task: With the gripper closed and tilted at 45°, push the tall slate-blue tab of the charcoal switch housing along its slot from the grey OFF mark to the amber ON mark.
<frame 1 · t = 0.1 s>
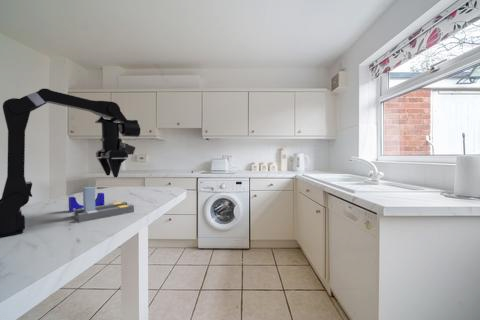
hand: (111, 176, 85), 15 cm above the counter, tool pointing down, fingers open, 9 cm apart
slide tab: (89, 200, 81), point 6 cm above the counter, slide at 0.0 cm
switch housing: (105, 214, 85), on the counter
cable clip: (86, 209, 93), on the counter
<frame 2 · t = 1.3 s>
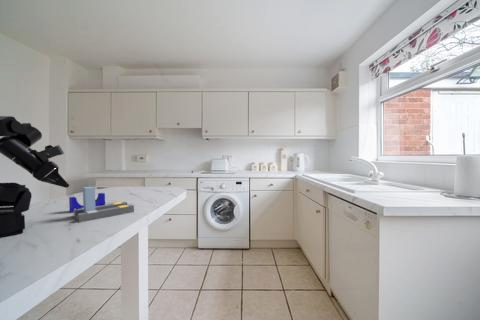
hand: (66, 185, 76), 13 cm above the counter, tool tilted 45°, fingers open, 8 cm apart
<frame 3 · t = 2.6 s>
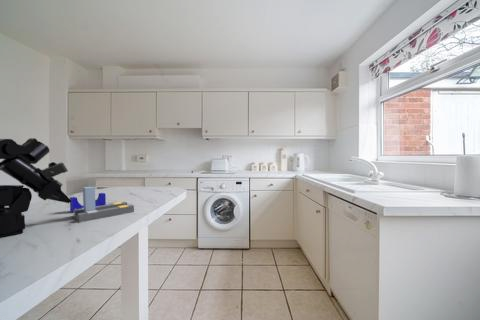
hand: (70, 201, 77), 7 cm above the counter, tool tilted 45°, fingers closed
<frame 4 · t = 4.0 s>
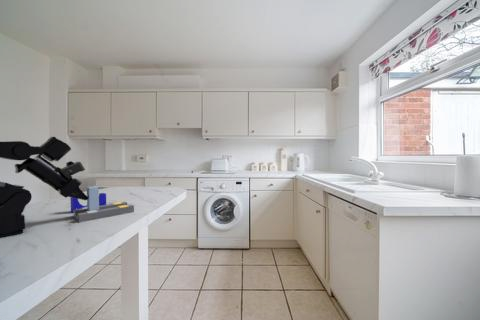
hand: (87, 199, 81), 7 cm above the counter, tool tilted 45°, fingers closed, pressing on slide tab
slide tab: (92, 199, 82), point 6 cm above the counter, slide at 1.2 cm, touching gripper
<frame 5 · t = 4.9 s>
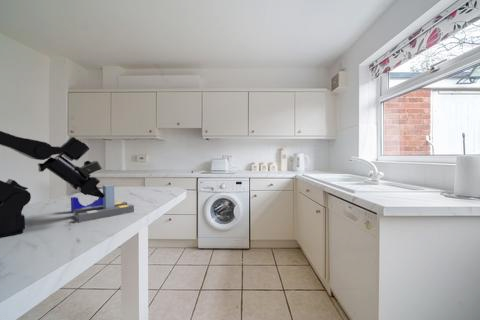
hand: (103, 196, 85), 7 cm above the counter, tool tilted 45°, fingers closed, pressing on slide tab
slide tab: (108, 197, 86), point 6 cm above the counter, slide at 6.4 cm, touching gripper
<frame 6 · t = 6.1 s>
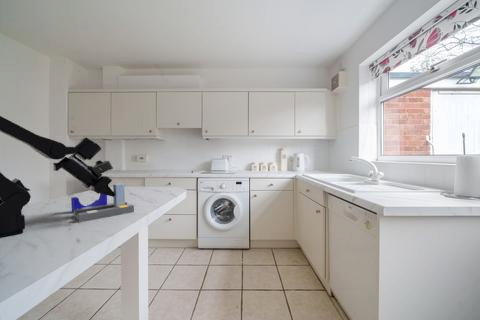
hand: (114, 195, 87), 7 cm above the counter, tool tilted 45°, fingers closed, pressing on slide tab
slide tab: (119, 196, 89), point 6 cm above the counter, slide at 10.1 cm, touching gripper
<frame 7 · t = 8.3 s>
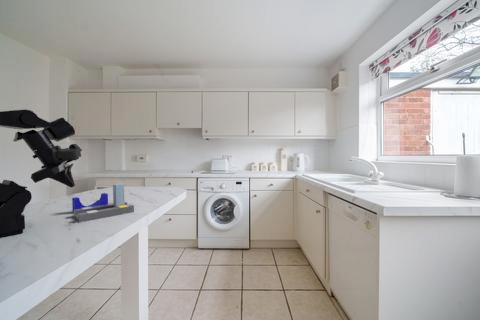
hand: (73, 186, 78), 12 cm above the counter, tool tilted 30°, fingers closed
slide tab: (118, 196, 89), point 6 cm above the counter, slide at 10.1 cm
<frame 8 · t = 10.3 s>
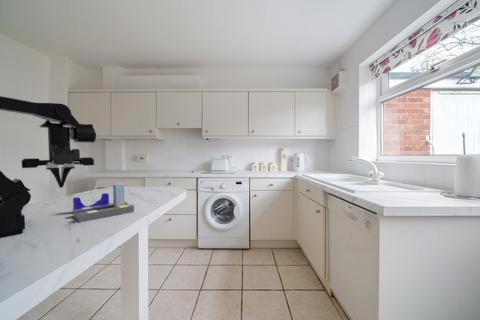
hand: (61, 187, 75), 12 cm above the counter, tool pointing down, fingers closed
at the end: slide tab slide at 10.1 cm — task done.
